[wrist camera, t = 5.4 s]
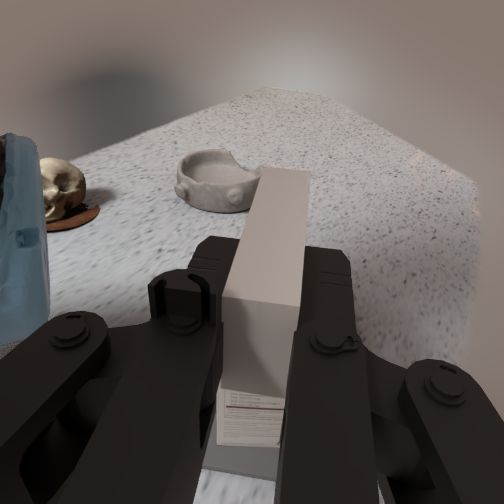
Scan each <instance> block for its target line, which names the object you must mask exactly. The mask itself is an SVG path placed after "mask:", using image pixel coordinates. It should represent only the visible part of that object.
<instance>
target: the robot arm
mask: <svg viewBox="0 0 504 504" xmlns="http://www.w3.org/2000/svg"><path fill="white" fill-rule="evenodd" d="M310 175H311V172H310V171H301V170H291V169H281V168H272V167H264V168H263V171H262V174H261V177H260V180H259V183H258V187H257V190H256V193H255V196H254V199H253V202H252V205H251V208H250V211H249V214H248V217H247V220H246V223H245V226H244V230H243V233H242V236H241V239H234V238H226V237H218V236H209V237H208V238H206V239H205V240H204V241H202V242H201V243H200V244H198V246H197V248H196V250H195V252H194V254H193V256H192V259H191V261H190V263H189V265H188V269H176V270H172V271H168V272H164V273H162V274H161V275H159V276H157V277H155V278H154V279H153V280H152V281H151V282H150V283H149V284H148V294H149V303H150V312H151V319H150V321H148V322H146V323H143V324H139V325H133V326H125V327H115V328H108V326H107V324H106V323H105V321H104V319H103V318H102V317H100V316H98V315H97V314H95V313H91V312H86V311H76V312H68V313H65V314H62V315H59V316H56V317H54V318H52V319H51V320H49V321H48V322H47V320H48V317H49V313H50V278H49V260H48V244H47V231H46V219H45V208H44V196H43V186H42V176H41V168H40V160H39V155H38V152H37V146H36V144H35V142H34V141H33V140H32V139H31V138H28V137H24V136H17V135H15V134H12V133H7V134H5V135H2V136H0V346H1V345H5V344H9V343H13V342H17V341H21V340H24V341H23V342H21V343H20V344H19V345H18V346H17V347H15V348H14V349H13V350H12V351H11V352H9V353H8V354H7V355H6V356H5V357H3V358H2V359H1V360H0V504H193V501H194V497H195V493H196V489H197V485H198V481H199V477H200V473H201V469H202V465H203V461H204V457H205V453H206V449H207V445H208V441H209V437H210V433H211V429H212V425H213V421H214V417H215V413H216V394H217V390H218V387H219V383H220V379H221V389H226V390H233V391H239V392H245V393H252V394H258V395H265V396H271V397H278V398H284V399H285V406H284V413H283V420H282V426H281V433H280V440H279V442H280V448H279V458H278V468H277V478H276V488H275V497H274V504H379V493H378V484H379V487H380V490H381V493H382V496H383V499H384V502H385V504H504V422H503V420H502V419H501V417H500V416H499V414H498V413H497V411H496V410H495V408H494V406H493V405H492V403H491V402H490V400H489V399H488V397H487V396H486V394H485V393H484V391H483V390H482V388H481V387H480V385H479V384H478V383H477V382H476V381H475V380H474V379H473V378H472V377H471V375H469V374H468V373H466V372H465V371H463V370H462V369H460V368H459V367H457V366H455V365H452V364H450V363H447V362H445V361H442V360H433V359H425V360H421V361H416V362H415V363H414V364H412V365H411V366H410V367H409V368H408V369H405V368H403V367H400V366H398V365H395V364H393V363H390V362H388V361H386V360H384V359H382V358H380V357H378V356H376V355H375V354H373V353H372V352H371V351H369V350H368V349H367V348H366V347H365V346H364V345H363V343H362V340H361V338H360V336H359V335H358V334H357V332H356V326H355V314H354V302H353V290H352V278H351V266H350V261H349V260H348V259H347V257H346V256H345V255H344V253H343V252H342V250H336V249H328V248H319V247H311V246H305V238H306V225H307V213H308V200H309V187H310ZM377 481H378V483H377Z"/></svg>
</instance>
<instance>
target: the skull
mask: <svg viewBox="0 0 504 504" xmlns="http://www.w3.org/2000/svg"><path fill="white" fill-rule="evenodd" d="M40 168H41V176H42V186H43V196H44V208H45V219H46V230H48V231H50V230H52V231H53V230H59V229H62V230H64V229H66V230H67V228H71V227H73V228H74V227H76V226H77V227H78V225H79V226H80V225H81V224H83V223H86V222H88V221H89V220H91V219H92V218H94V217H96V215H97V214H98V212H99V210H100V208H99V207H100V206H96V207H95V208H93V209H91V208H90V209H88V208H86V206H87V207H88V205H86V204H83V203H82V201H83V200H84V198H85V194H86V182H85V178H84V174H83V173H82V172H81V171H80V170H79V169H78V168H77V167H75V166H74V165H72V164H70V163H68V162H66V161H63V160H60V159H56V158H44V159H41V160H40ZM85 205H86V206H85ZM97 205H98V204H97Z"/></svg>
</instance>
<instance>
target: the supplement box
mask: <svg viewBox="0 0 504 504" xmlns="http://www.w3.org/2000/svg"><path fill="white" fill-rule="evenodd" d="M284 406H285V399H284V398H278V397H271V396H265V395H258V394H252V393H245V392H239V391H233V390H226V389H221V379H220V383H219V387H218V390H217V445H223V446H246V447H276V448H280V442H279V440H280V433H281V426H282V420H283V413H284Z"/></svg>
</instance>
